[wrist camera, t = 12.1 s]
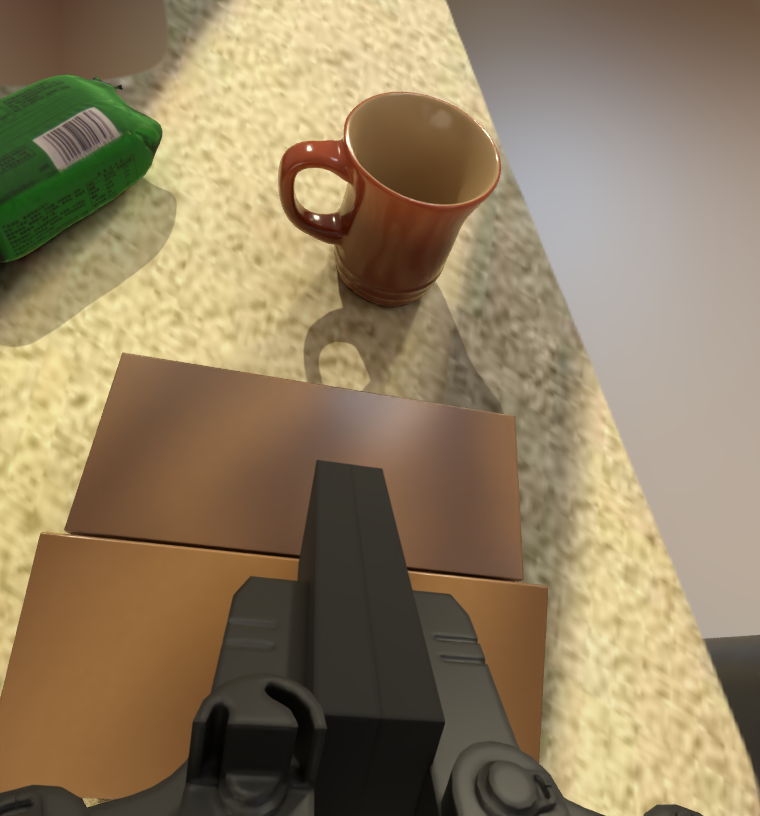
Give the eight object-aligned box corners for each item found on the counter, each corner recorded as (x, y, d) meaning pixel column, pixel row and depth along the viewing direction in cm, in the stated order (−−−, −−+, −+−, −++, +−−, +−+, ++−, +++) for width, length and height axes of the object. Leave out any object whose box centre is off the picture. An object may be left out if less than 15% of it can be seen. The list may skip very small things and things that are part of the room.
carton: (431, 494, 31) (516, 414, 22) (425, 757, 26) (538, 813, 16) (164, 459, 29) (121, 350, 19) (90, 741, 23) (-27, 796, 13)
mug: (430, 225, 41) (482, 99, 32) (453, 322, 37) (518, 212, 28) (268, 217, 38) (275, 75, 29) (276, 322, 34) (287, 198, 25)
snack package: (188, 170, 38) (180, 101, 33) (-13, 300, 31) (-59, 234, 26) (112, 116, 39) (94, 41, 34) (-102, 230, 31) (-162, 153, 27)
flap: (542, 584, 17) (548, 586, 17) (530, 805, 16) (537, 812, 16) (45, 531, 15) (40, 532, 15) (-16, 787, 14) (-25, 795, 13)
